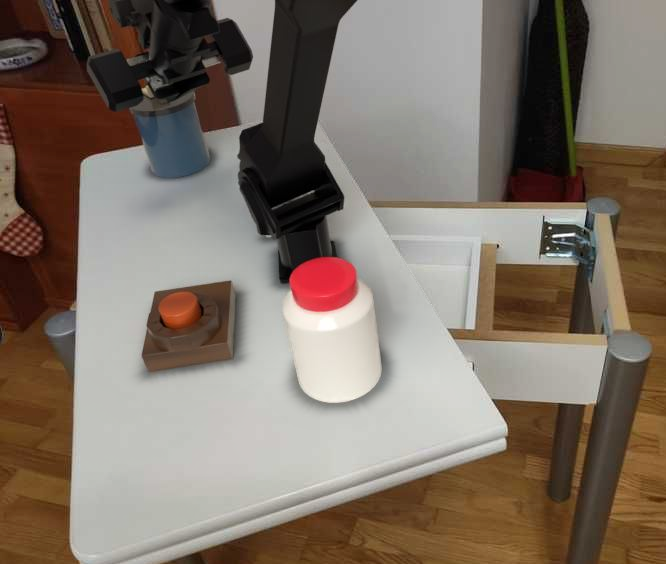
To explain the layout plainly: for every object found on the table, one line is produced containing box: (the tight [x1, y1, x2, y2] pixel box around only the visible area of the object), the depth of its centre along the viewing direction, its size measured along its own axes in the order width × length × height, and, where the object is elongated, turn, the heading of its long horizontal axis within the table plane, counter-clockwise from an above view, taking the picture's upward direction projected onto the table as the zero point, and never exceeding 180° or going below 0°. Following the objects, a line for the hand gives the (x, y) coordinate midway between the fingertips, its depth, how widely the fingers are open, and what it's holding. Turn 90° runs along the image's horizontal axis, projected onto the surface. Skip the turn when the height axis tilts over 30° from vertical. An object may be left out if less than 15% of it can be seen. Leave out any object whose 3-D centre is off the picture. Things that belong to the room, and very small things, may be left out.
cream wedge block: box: [141, 85, 154, 98], centre depth 90 cm, size 3×2×2 cm
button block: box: [141, 280, 237, 373], centre depth 65 cm, size 10×8×4 cm
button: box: [158, 292, 202, 329], centre depth 62 cm, size 4×4×2 cm
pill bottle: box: [281, 257, 383, 404], centre depth 57 cm, size 8×8×11 cm
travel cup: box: [127, 90, 211, 179], centre depth 92 cm, size 9×9×10 cm
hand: (168, 98), depth 86 cm, fingers closed
